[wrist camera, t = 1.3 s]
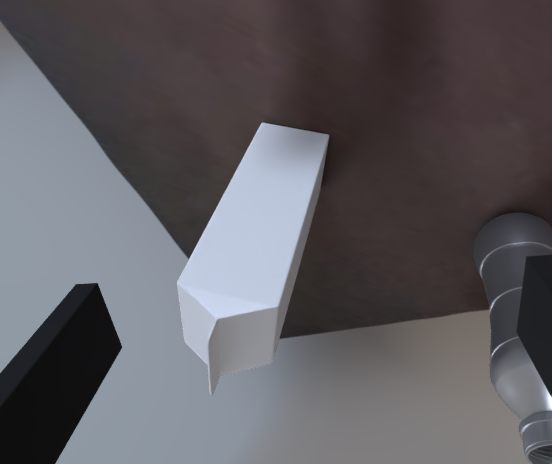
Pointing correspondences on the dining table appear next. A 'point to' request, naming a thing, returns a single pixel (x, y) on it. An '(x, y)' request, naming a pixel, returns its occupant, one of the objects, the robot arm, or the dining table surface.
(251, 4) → the dining table surface
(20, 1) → the dining table surface
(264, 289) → the milk
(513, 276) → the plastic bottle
